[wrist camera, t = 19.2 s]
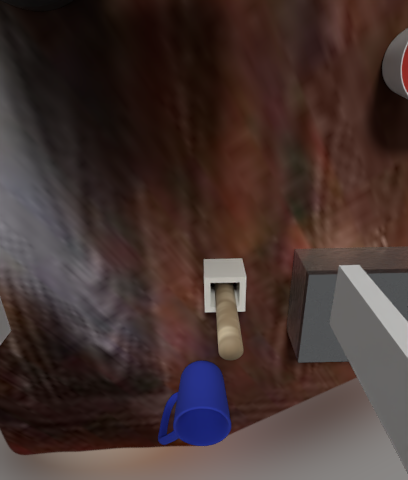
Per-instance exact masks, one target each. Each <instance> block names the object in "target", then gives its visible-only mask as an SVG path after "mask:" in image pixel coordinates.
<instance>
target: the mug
mask: <svg viewBox="0 0 408 480" xmlns="http://www.w3.org/2000/svg"><path fill="white" fill-rule="evenodd" d="M176 401H177V404H176V410H175V416H174V422H173V429H174V431H172V432H171V433H169V434H167V428H168V422H169V418H170V414H171V410H172V408H173V406H174V404H175V403H176ZM230 430H231V420H230V414H229V409H228V403H227V397H226V391H225V385H224V380H223V375H222V373H221V371H220V369H219V368H218V367H217V366H216V365H215V364H213V363H211V362H208V361H196V362H193V363H191V364H189V365H188V366H187V367H186V368H185V369H184V371H183V373H182V375H181V380H180V386H179V392H177V393H175V394H173V395H172V396H171V397H170V398H169V400H168V401H167V403H166V406H165V409H164V412H163V416H162V420H161V425H160V430H159V436H158V441H159V442H160V443H161V444H162V445H166V444H168V443H171V442H173V441H175V440H177V439H178V438H180V439H181V440H182V441H184V442H186V443H188V444H191V445H196V446H208V445H213V444H216V443H218V442H220V441H222V440H223V439H224V438H226V437H227V435H228V434H229V432H230Z"/></svg>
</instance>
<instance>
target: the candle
mask: <svg viewBox="0 0 408 480" xmlns="http://www.w3.org/2000/svg"><path fill="white" fill-rule="evenodd" d="M382 74H383V78H384V81H385V83H386V85H387V86H388V87H389V88H390V89H391V90H392V91H393V92H395V93H396V94H398V95H400V96H402V97H404V98H405V99H407V100H408V28H407V29H405V30H404V31H403V32H401V33H400V34H399V35H398V36H397V37H396V38H395V39H394V40H393V41H392V42H391V44H390V45H389V47H388V49H387V51H386V53H385V55H384V59H383V64H382Z"/></svg>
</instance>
